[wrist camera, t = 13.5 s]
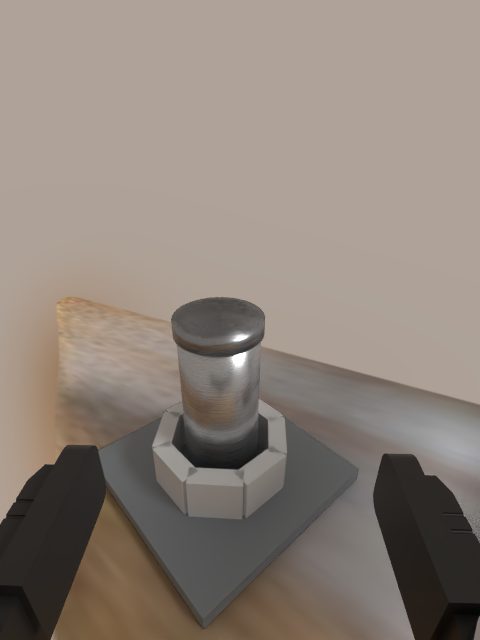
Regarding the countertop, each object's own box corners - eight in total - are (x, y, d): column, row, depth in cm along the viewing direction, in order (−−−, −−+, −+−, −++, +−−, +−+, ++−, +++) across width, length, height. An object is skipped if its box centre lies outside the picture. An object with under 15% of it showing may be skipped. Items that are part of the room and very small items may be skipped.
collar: (231, 389, 37) (231, 354, 35) (356, 478, 28) (365, 438, 26) (91, 464, 28) (82, 424, 27) (203, 629, 19) (201, 584, 17)
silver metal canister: (226, 425, 31) (223, 290, 25) (274, 464, 27) (284, 318, 22) (170, 460, 28) (153, 315, 22) (217, 510, 24) (210, 352, 18)
